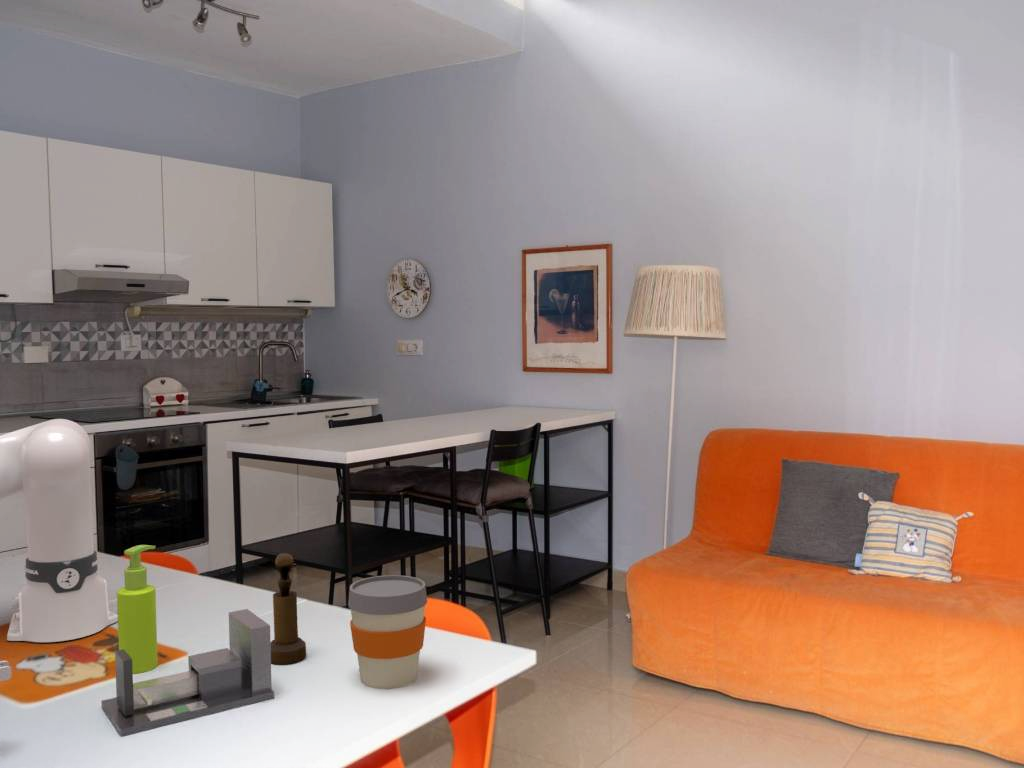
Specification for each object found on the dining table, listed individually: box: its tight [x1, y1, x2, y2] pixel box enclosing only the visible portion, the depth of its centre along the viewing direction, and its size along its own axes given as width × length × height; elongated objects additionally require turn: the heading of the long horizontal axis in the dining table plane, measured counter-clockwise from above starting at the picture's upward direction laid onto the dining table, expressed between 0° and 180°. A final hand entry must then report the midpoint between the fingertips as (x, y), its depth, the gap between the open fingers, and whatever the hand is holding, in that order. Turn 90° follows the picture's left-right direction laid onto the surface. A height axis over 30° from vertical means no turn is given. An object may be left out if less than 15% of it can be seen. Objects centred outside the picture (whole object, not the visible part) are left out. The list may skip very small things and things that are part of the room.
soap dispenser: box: [116, 544, 159, 674], centre depth 153 cm, size 6×7×20 cm
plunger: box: [114, 649, 199, 716], centre depth 135 cm, size 8×11×8 cm
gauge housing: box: [101, 608, 275, 737], centre depth 138 cm, size 12×22×11 cm, turn 126°
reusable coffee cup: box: [347, 574, 428, 689], centre depth 148 cm, size 13×12×15 cm
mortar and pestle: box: [270, 552, 307, 666], centre depth 157 cm, size 7×6×18 cm
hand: (10, 669), depth 124 cm, fingers closed
